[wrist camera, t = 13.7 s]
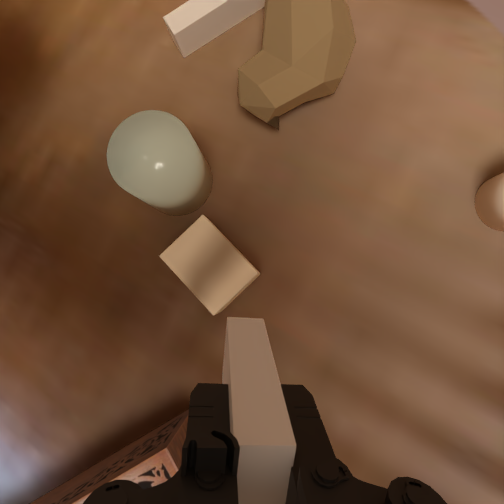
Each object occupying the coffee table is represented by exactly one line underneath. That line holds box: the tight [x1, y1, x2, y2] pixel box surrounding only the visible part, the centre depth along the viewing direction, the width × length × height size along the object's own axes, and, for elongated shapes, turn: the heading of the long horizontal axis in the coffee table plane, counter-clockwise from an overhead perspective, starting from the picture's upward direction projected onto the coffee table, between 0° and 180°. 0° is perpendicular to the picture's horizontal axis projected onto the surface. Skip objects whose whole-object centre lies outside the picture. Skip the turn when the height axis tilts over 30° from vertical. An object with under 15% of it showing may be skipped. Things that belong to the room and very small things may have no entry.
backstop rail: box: [163, 0, 265, 58], centre depth 40 cm, size 2×16×4 cm, turn 122°
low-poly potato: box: [238, 0, 356, 130], centre depth 36 cm, size 15×11×12 cm
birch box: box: [159, 215, 260, 316], centre depth 37 cm, size 8×6×5 cm
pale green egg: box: [107, 110, 212, 216], centre depth 36 cm, size 8×8×9 cm
